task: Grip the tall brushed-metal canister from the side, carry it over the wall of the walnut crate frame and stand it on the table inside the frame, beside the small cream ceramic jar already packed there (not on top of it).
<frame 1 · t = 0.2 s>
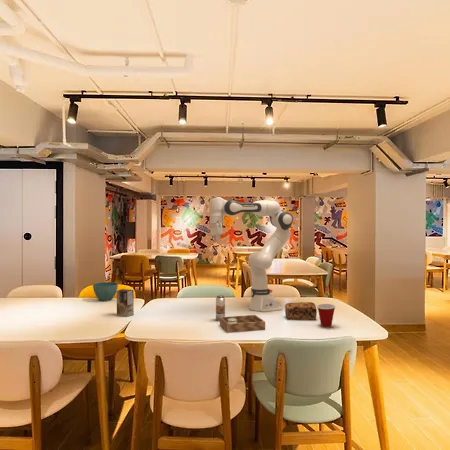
hand: (216, 241, 253), 47 cm above the table, tool pointing down, fingers open, 8 cm apart
coffee box: (125, 315, 243), on the table
jar: (232, 329, 213), resting in crate
bread: (300, 318, 238), on the table
plastic cup: (325, 326, 220), on the table
canister: (220, 320, 232), on the table
teal bowl: (105, 300, 289), on the table
crate: (242, 327, 217), on the table
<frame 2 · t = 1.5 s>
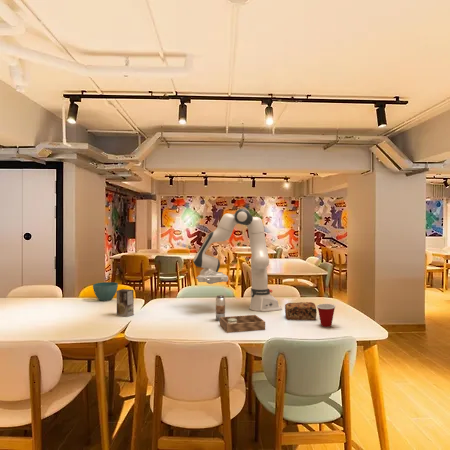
hand: (215, 280, 243), 23 cm above the table, tool horizontal, fingers open, 8 cm apart
nothing on the table moved.
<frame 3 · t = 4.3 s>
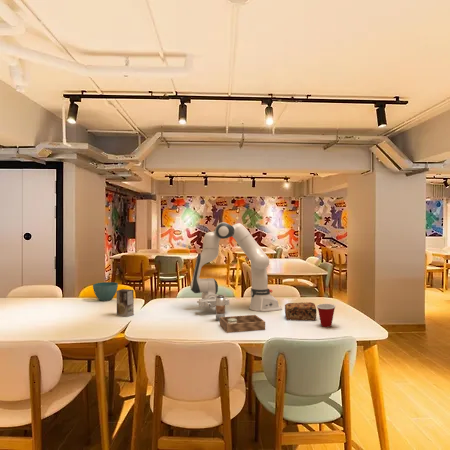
hand: (216, 304, 241), 7 cm above the table, tool horizontal, fingers open, 8 cm apart
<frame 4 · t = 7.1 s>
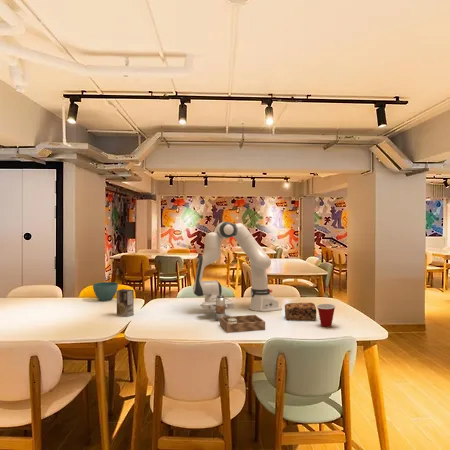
hand: (220, 308, 231), 8 cm above the table, tool horizontal, fingers closed on canister, 6 cm apart
canister: (220, 320, 232), on the table, touching gripper
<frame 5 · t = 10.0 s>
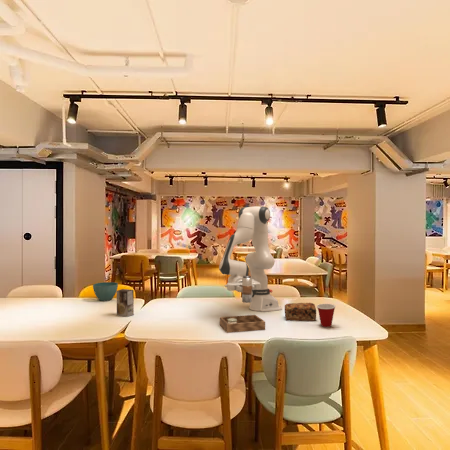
hand: (247, 288, 218), 22 cm above the table, tool horizontal, fingers closed on canister, 6 cm apart
canister: (246, 301, 219), point 14 cm above the table, touching gripper
when the fingers open (9 cm above the table, at t = 13.4 s): canister drops 1 cm, resting in crate.
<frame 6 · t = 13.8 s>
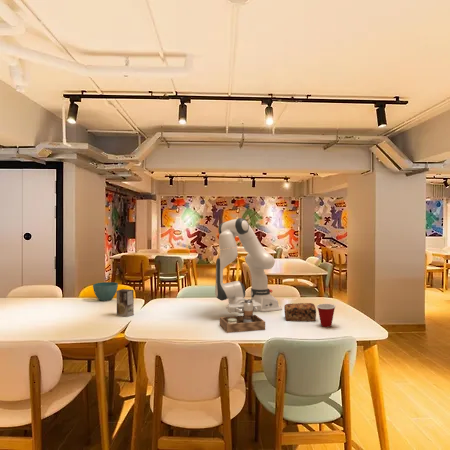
hand: (248, 310, 218), 9 cm above the table, tool horizontal, fingers open, 8 cm apart
canister: (248, 326, 219), resting in crate
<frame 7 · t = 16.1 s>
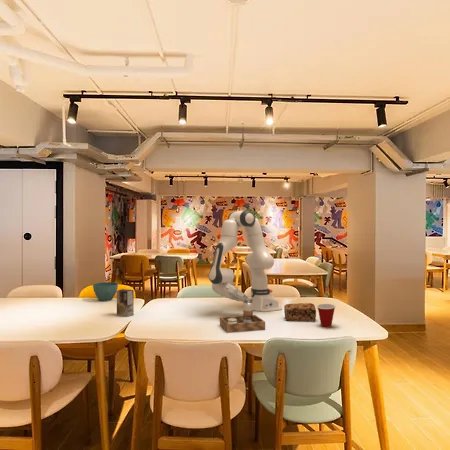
hand: (248, 298, 232), 13 cm above the table, tool horizontal, fingers open, 8 cm apart
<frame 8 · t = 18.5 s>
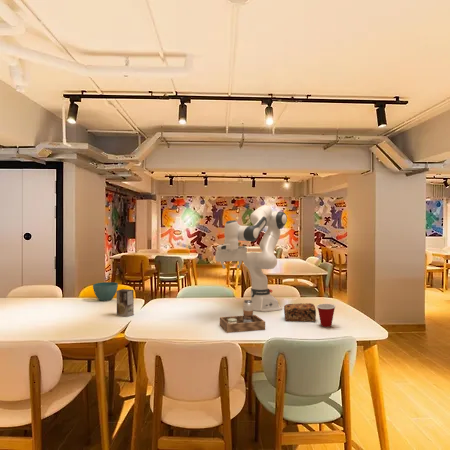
hand: (231, 268, 237), 31 cm above the table, tool pointing down, fingers open, 8 cm apart
at the end: canister inside the target area on the crate (4.2 cm from its centre), point 0.0 cm above the crate's base; canister tilted 0°; the gripper is holding nothing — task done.
